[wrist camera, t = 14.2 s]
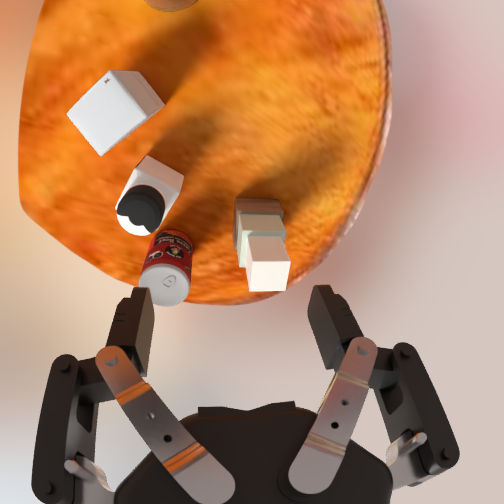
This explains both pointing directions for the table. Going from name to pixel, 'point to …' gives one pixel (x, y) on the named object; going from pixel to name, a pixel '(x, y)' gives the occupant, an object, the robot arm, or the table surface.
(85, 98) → the supplement box
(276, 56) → the table surface
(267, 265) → the cream block
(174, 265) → the canned food
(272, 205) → the walnut base block
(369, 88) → the table surface
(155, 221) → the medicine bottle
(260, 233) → the sage block
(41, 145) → the table surface
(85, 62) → the table surface
